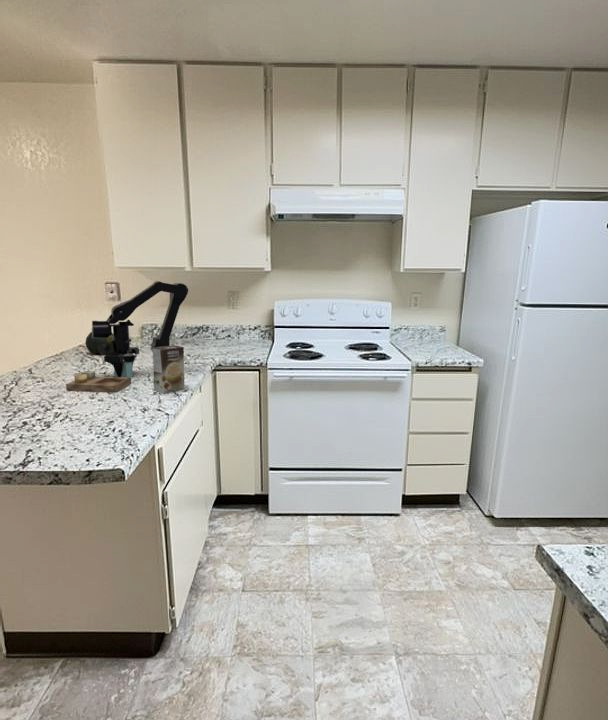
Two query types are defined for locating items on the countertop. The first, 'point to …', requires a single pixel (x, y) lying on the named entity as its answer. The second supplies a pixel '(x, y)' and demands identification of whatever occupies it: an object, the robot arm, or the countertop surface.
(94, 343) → the squash
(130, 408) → the countertop surface
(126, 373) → the teal block
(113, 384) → the puzzle board
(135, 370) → the countertop surface
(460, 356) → the countertop surface
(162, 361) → the coffee box
